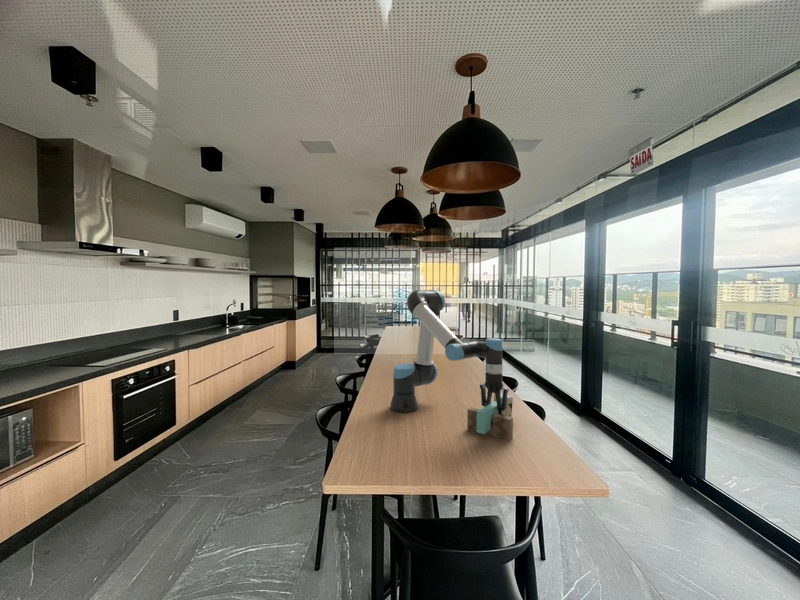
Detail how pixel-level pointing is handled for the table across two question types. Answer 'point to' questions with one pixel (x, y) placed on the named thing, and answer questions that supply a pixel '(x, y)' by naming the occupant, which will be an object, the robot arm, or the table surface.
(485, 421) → the teal rectangular block
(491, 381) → the robot arm
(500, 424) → the walnut rail
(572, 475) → the table surface
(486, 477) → the table surface
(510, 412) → the coffee cup
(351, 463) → the table surface
